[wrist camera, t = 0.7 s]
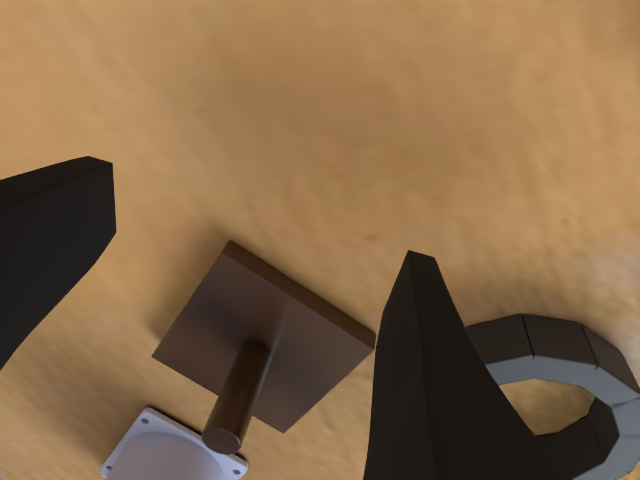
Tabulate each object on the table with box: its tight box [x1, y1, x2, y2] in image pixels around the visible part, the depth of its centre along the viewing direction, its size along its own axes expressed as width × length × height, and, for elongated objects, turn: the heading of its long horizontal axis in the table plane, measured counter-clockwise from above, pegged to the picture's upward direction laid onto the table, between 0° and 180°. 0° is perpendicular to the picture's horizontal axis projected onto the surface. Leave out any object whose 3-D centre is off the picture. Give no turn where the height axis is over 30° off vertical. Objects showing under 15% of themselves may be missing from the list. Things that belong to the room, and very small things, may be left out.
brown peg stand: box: [152, 241, 376, 455], centre depth 24 cm, size 9×9×7 cm
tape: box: [465, 314, 640, 480], centre depth 24 cm, size 10×10×3 cm
